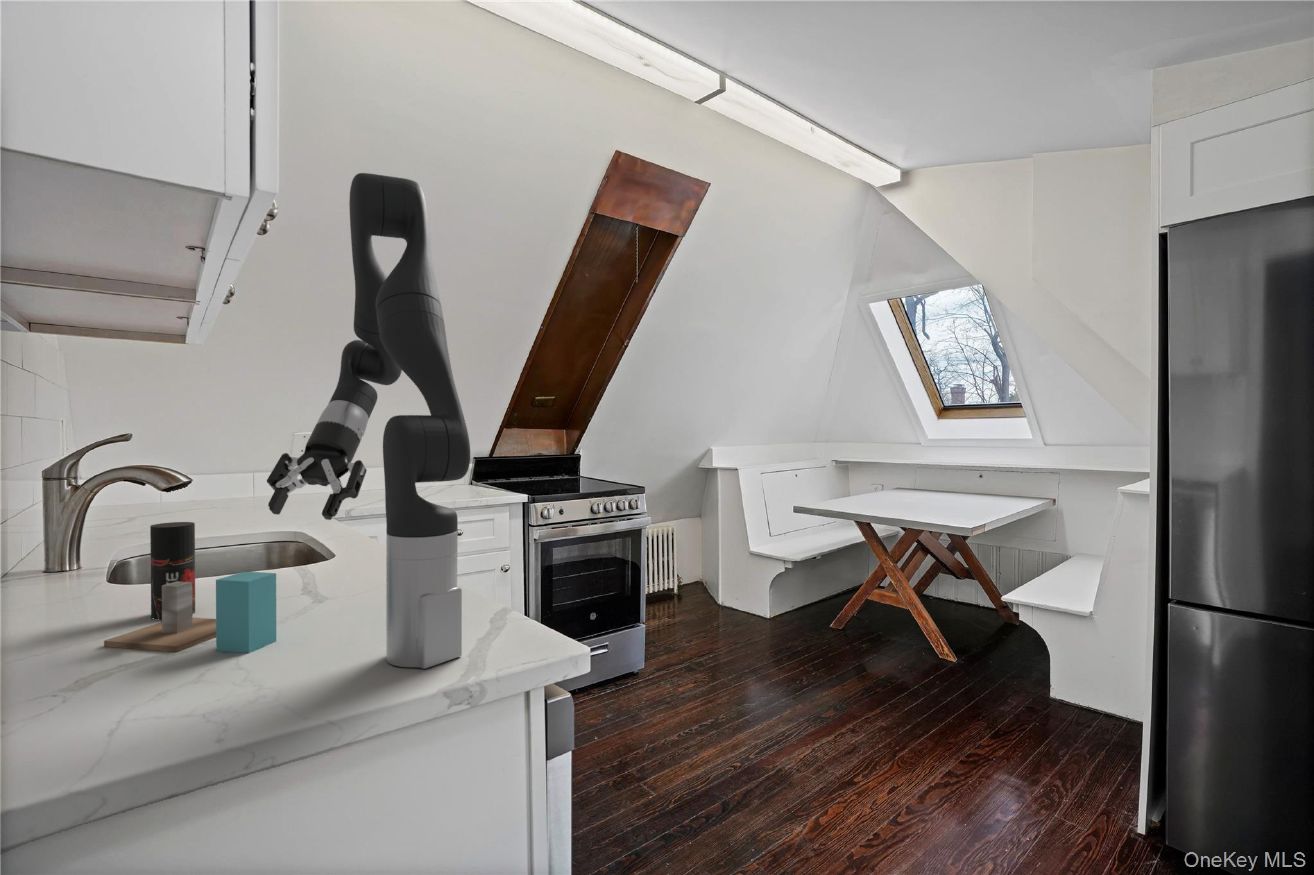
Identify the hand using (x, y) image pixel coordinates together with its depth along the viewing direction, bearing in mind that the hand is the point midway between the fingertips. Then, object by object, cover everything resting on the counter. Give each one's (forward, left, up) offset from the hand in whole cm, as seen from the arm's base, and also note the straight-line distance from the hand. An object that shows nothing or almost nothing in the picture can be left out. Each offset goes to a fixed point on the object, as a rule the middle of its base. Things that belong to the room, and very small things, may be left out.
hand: (299, 514), depth 104 cm
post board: (+9, +14, -17) cm, 24 cm away
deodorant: (+22, +10, -18) cm, 30 cm away
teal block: (-4, +10, -17) cm, 20 cm away
